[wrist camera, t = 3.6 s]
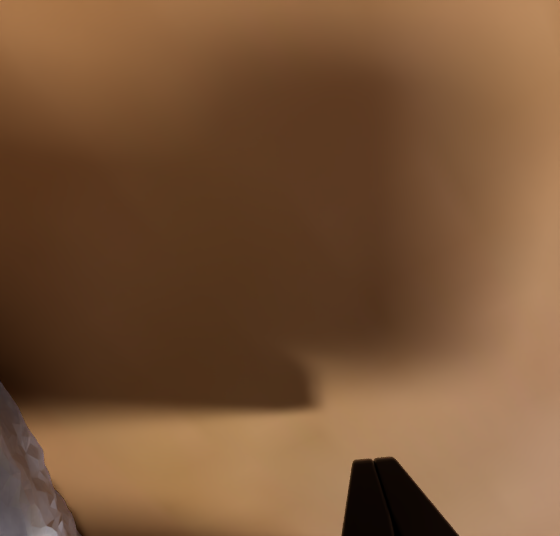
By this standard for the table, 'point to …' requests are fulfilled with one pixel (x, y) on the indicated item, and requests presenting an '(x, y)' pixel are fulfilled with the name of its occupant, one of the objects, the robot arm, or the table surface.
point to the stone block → (27, 481)
